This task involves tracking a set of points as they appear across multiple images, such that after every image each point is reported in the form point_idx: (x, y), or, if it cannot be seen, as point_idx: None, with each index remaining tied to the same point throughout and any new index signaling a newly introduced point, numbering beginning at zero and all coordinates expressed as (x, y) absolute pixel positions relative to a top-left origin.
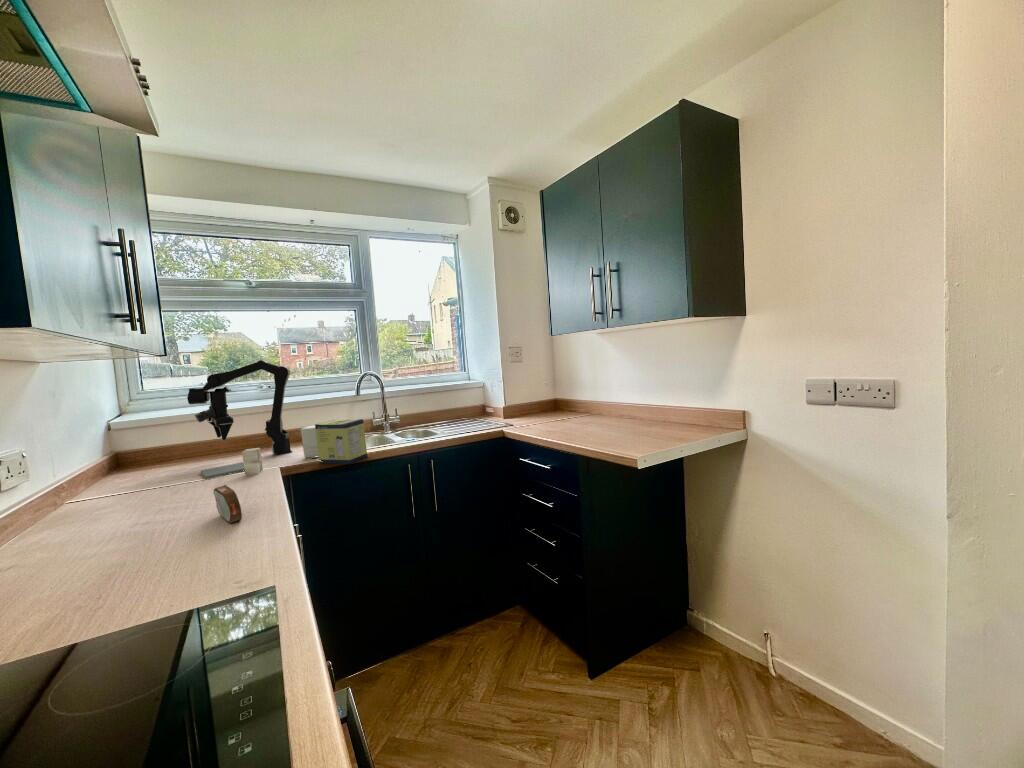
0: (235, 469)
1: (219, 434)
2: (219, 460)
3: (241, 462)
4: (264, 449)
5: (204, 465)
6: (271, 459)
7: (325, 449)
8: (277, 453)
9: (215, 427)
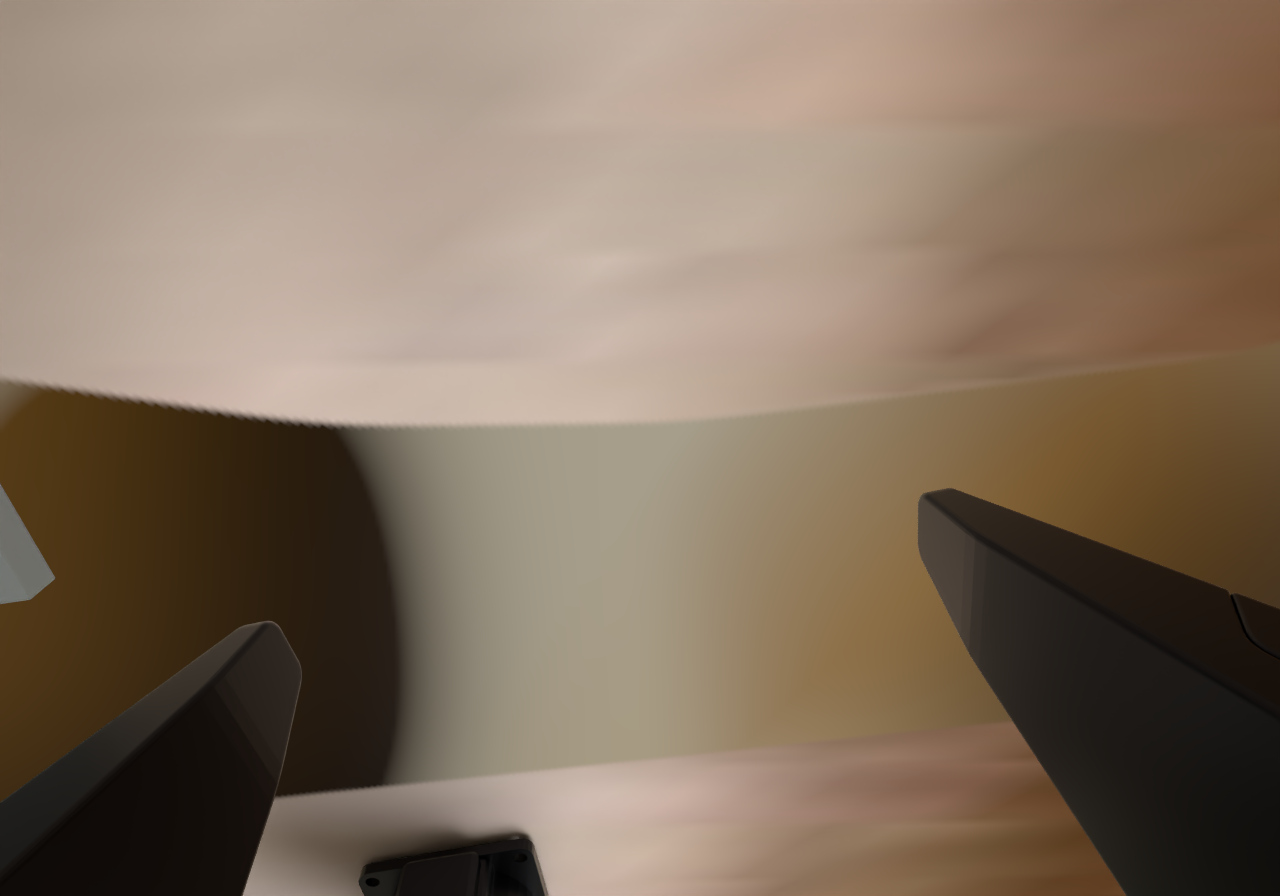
0: None
1: (966, 595)
2: (746, 296)
3: (7, 591)
4: (936, 763)
5: (509, 65)
6: None
7: None
8: (388, 884)
9: (1254, 750)
